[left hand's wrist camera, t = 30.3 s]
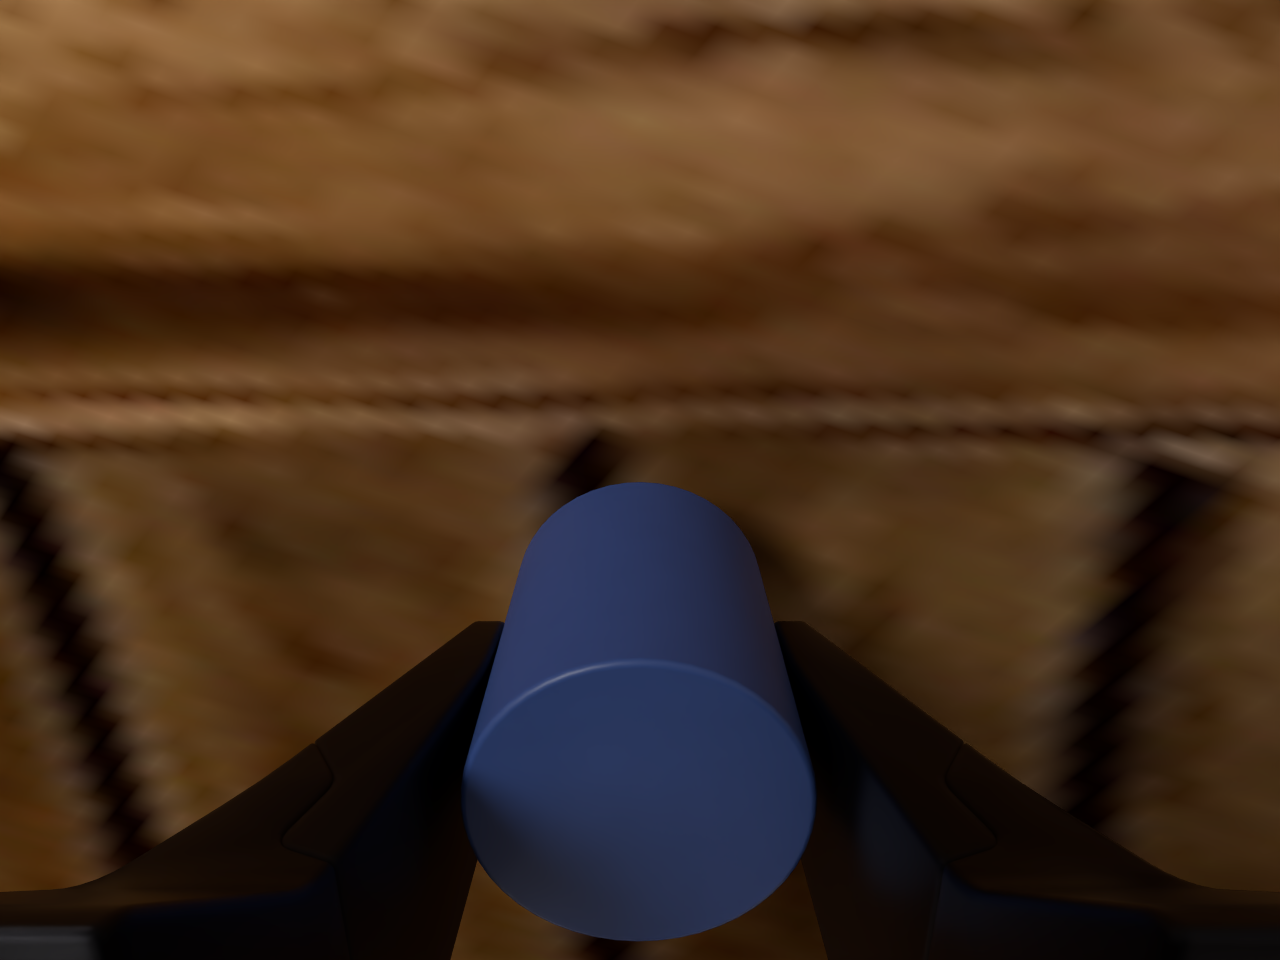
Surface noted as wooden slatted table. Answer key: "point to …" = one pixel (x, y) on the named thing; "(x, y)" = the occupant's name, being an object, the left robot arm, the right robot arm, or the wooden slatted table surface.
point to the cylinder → (639, 725)
